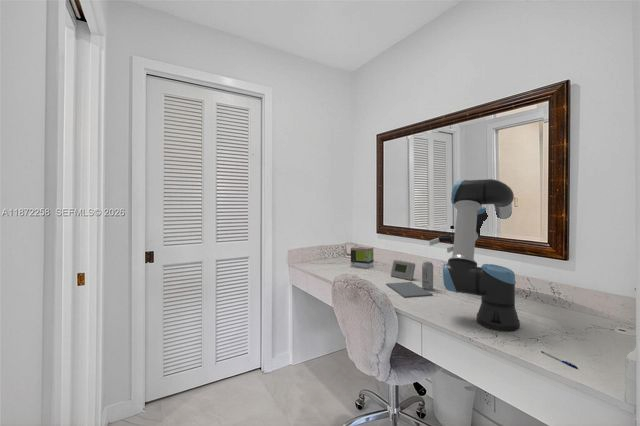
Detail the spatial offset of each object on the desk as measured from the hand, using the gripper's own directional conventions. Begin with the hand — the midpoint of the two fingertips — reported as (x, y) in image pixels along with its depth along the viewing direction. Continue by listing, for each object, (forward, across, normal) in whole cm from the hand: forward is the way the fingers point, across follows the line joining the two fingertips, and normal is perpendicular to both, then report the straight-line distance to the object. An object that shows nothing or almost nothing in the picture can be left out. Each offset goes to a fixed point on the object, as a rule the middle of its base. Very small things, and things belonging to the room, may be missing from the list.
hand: (438, 246), depth 167 cm
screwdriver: (+22, -75, -10) cm, 78 cm away
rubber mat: (+20, +3, -21) cm, 30 cm away
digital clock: (+8, +26, -28) cm, 38 cm away
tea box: (+16, +65, -32) cm, 74 cm away
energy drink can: (+9, +1, -24) cm, 25 cm away
